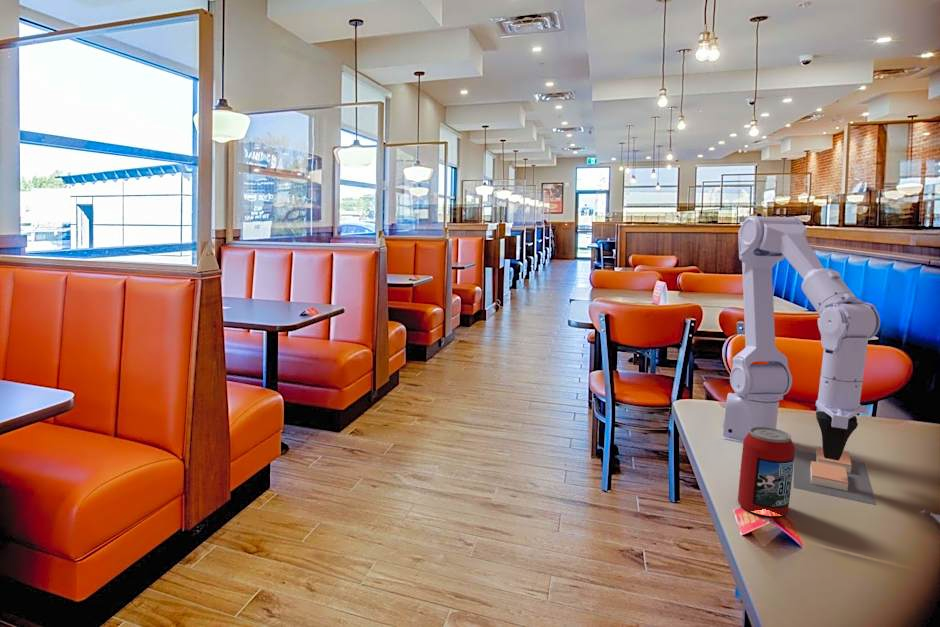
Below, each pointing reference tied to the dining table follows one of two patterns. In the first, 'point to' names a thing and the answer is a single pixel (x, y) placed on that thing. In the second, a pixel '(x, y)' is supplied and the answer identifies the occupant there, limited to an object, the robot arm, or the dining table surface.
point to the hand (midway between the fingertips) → (831, 458)
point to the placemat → (856, 487)
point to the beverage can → (766, 470)
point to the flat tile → (842, 462)
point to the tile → (829, 475)
